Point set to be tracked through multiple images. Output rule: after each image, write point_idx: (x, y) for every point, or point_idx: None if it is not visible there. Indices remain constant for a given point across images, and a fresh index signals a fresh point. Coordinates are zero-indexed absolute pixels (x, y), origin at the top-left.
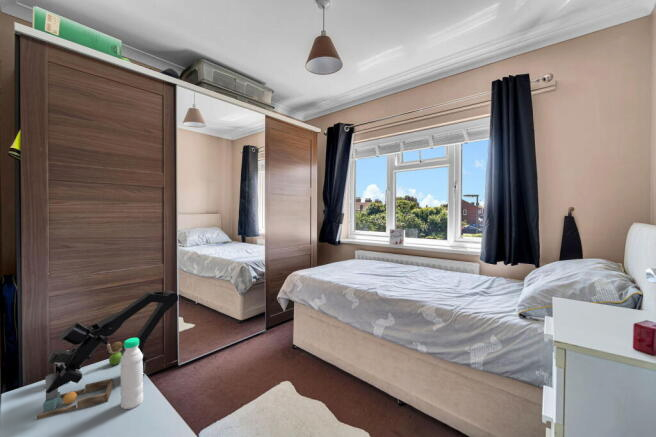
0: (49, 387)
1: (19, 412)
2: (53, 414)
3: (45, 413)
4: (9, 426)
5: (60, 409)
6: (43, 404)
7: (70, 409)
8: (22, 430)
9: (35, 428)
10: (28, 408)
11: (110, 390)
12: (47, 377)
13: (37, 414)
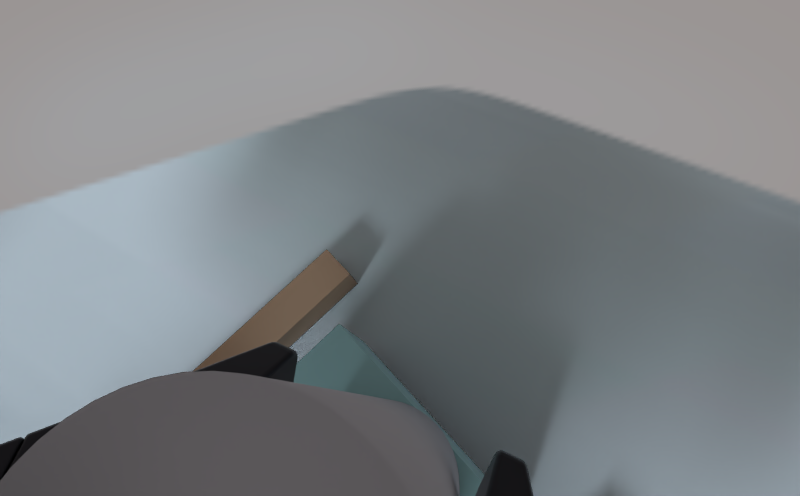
0: None
1: (683, 273)
2: None
3: (270, 311)
4: (490, 119)
5: None
6: (336, 328)
7: None
8: (296, 131)
9: (202, 184)
10: (675, 353)
11: None
12: (239, 459)
13: (347, 272)
